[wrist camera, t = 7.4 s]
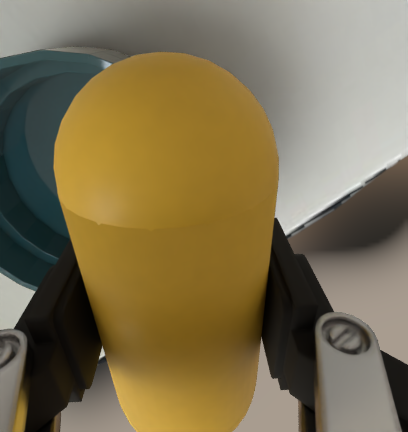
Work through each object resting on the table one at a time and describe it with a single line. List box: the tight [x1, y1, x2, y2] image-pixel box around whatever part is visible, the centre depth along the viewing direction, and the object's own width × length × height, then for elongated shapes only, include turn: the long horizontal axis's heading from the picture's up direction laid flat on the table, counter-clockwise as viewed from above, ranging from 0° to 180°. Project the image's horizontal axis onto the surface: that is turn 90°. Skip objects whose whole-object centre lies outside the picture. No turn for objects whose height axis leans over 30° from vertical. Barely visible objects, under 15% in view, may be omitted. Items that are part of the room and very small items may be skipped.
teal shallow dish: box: [0, 46, 131, 291], centre depth 24 cm, size 19×19×6 cm
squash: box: [54, 52, 279, 432], centre depth 9 cm, size 13×5×5 cm, turn 1°
